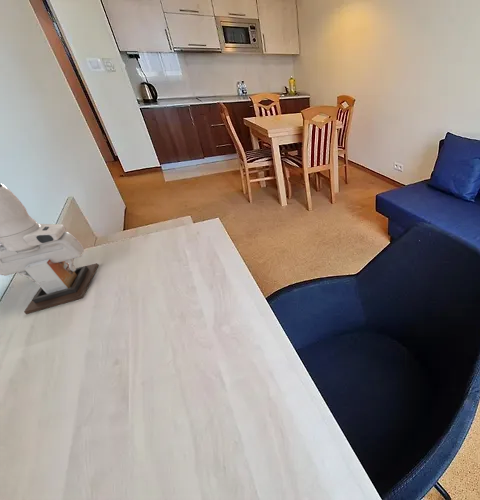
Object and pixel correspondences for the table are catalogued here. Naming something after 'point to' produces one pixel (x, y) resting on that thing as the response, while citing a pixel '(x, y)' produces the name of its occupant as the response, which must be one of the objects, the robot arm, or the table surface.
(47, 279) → the small box
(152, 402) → the table surface
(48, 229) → the robot arm
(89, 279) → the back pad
